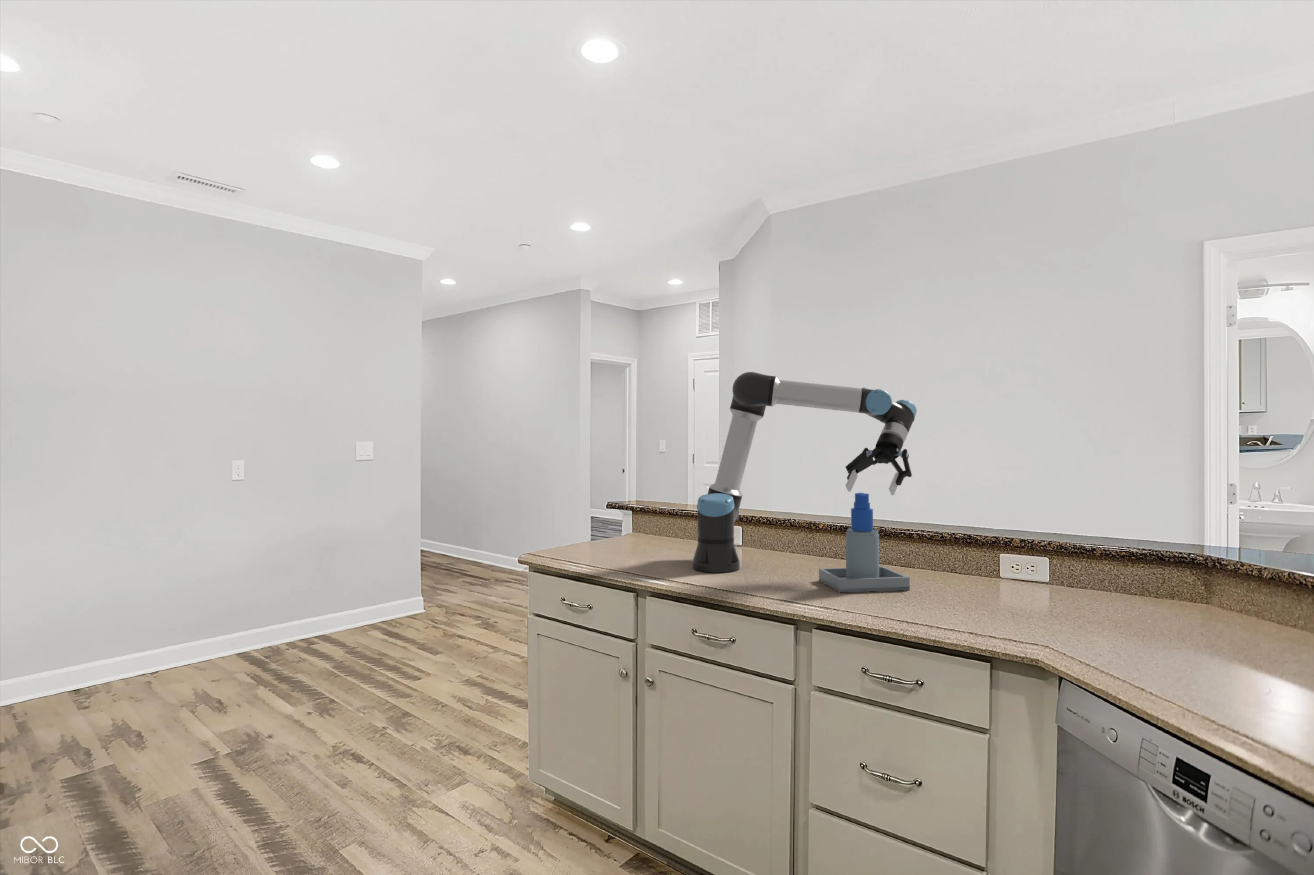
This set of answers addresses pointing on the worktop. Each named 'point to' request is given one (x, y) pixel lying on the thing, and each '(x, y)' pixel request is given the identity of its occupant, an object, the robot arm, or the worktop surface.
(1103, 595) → the worktop surface
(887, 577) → the tray
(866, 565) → the spray bottle
